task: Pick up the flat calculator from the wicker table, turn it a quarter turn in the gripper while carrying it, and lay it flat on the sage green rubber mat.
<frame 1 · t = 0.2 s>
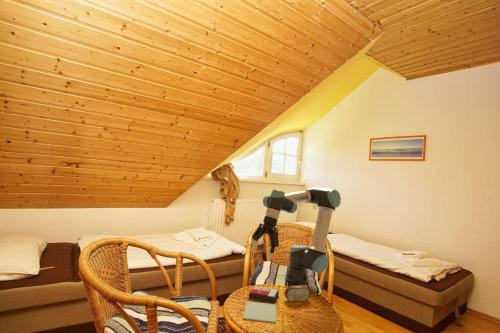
hand: (260, 255, 154), 27 cm above the table, tool tilted 15°, fingers open, 13 cm apart
tin: (297, 301, 162), on the table
mat: (260, 312, 146), on the table
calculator: (263, 297, 164), on the table
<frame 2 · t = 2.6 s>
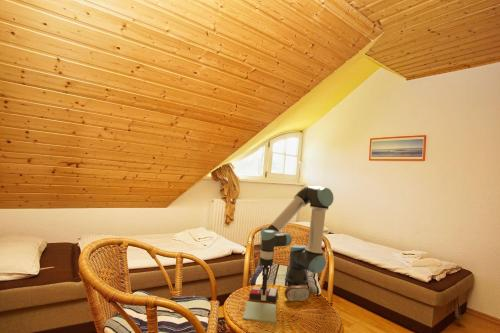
hand: (263, 295, 164), 1 cm above the table, tool pointing down, fingers closed on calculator, 11 cm apart
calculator: (263, 297, 164), on the table, touching gripper
everything else where it was.
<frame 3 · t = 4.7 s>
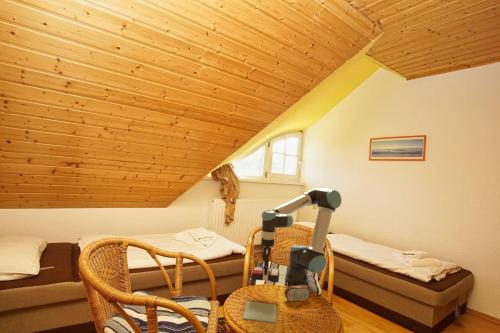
hand: (265, 276, 164), 12 cm above the table, tool pointing down, fingers closed on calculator, 11 cm apart
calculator: (265, 277, 164), point 11 cm above the table, touching gripper
everything else where it was.
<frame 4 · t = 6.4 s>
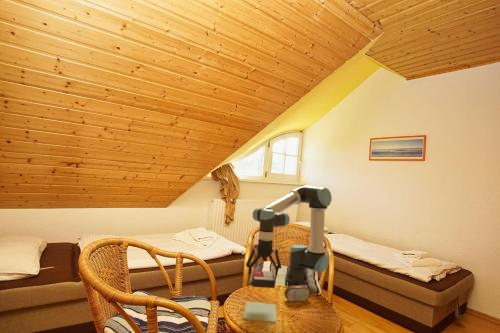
hand: (262, 280, 150), 15 cm above the table, tool pointing down, fingers closed on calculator, 11 cm apart
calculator: (262, 282, 150), point 14 cm above the table, touching gripper
everything else where it was.
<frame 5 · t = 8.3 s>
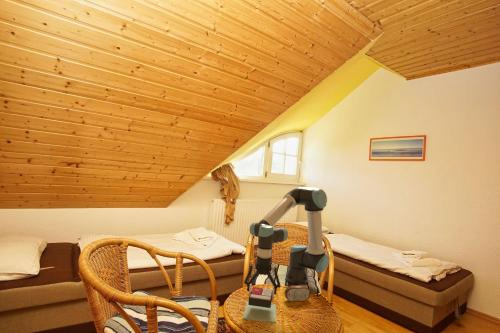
hand: (261, 299, 146), 7 cm above the table, tool pointing down, fingers closed on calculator, 11 cm apart
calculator: (261, 300, 146), point 6 cm above the table, touching gripper
everything else where it was.
when the fingers open (2 cm above the table, at t = 10.1 s): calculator drops 1 cm, resting on mat.
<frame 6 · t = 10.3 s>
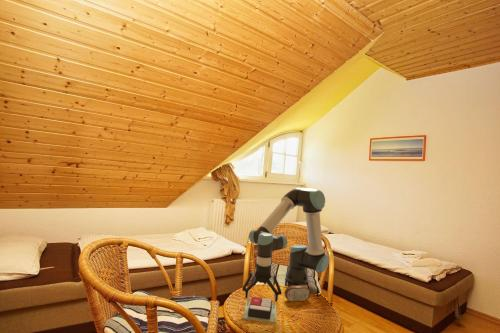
hand: (260, 305, 146), 3 cm above the table, tool pointing down, fingers open, 13 cm apart
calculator: (260, 311, 146), resting on mat
everything else where it was.
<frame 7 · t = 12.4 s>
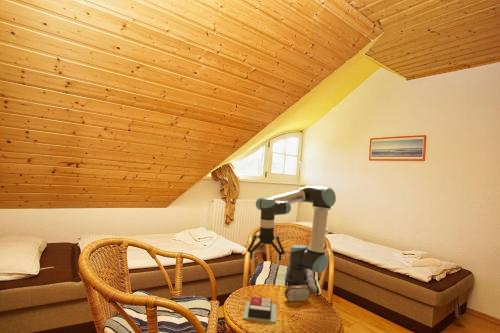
hand: (265, 265, 156), 21 cm above the table, tool pointing down, fingers open, 13 cm apart
nothing on the table moved.
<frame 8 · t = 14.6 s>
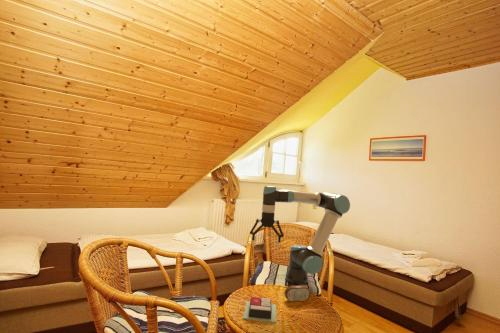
hand: (265, 247, 172), 27 cm above the table, tool pointing down, fingers open, 13 cm apart
nothing on the table moved.
at the end: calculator inside the target area on the mat (0.2 cm from its centre), point 0.4 cm above the mat's base; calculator resting on mat; the gripper is holding nothing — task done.
